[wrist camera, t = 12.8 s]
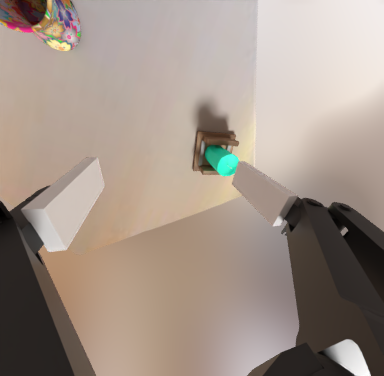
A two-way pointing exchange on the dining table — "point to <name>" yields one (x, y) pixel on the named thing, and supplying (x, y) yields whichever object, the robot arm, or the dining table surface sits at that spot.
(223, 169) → the candle
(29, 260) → the robot arm
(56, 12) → the mug
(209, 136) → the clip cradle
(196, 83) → the dining table surface
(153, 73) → the dining table surface
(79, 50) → the dining table surface
